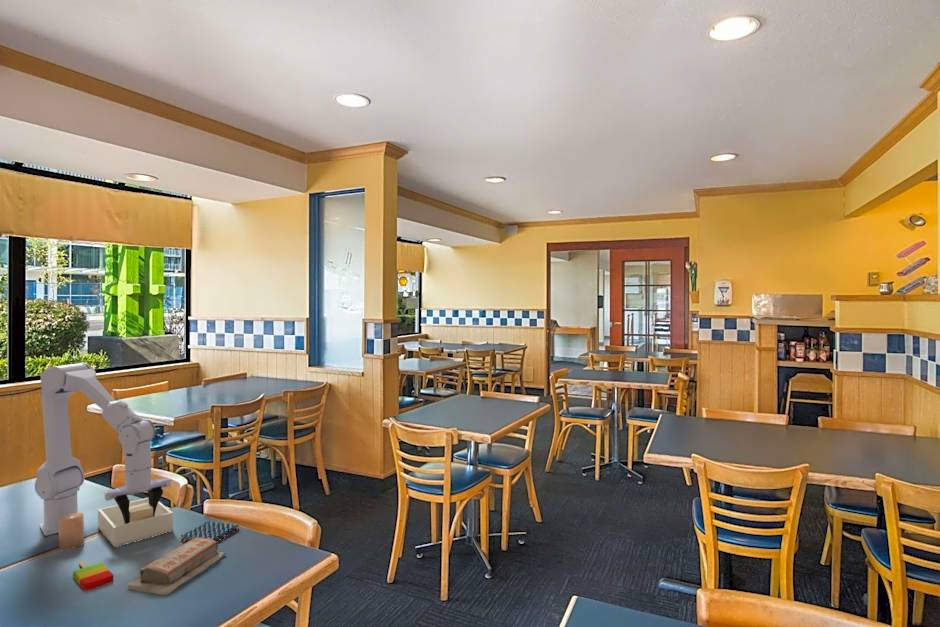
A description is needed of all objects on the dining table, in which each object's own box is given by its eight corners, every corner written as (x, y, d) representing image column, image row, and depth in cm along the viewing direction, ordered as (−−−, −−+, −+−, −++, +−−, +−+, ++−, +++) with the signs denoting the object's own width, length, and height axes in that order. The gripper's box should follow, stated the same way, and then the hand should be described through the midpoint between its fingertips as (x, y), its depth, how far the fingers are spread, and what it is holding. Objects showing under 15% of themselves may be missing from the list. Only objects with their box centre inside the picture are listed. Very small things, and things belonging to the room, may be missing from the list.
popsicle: (84, 593, 113) (84, 584, 113) (66, 570, 123) (66, 562, 123) (115, 583, 117) (115, 574, 117) (95, 562, 127) (95, 554, 127)
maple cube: (126, 526, 141) (125, 507, 140) (147, 521, 144) (147, 502, 144) (131, 532, 137) (130, 512, 137) (153, 526, 141) (152, 507, 140)
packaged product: (190, 533, 131) (225, 537, 128) (190, 553, 131) (226, 557, 128) (126, 568, 113) (165, 574, 111) (126, 591, 113) (166, 597, 111)
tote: (98, 527, 145) (97, 509, 145) (153, 513, 154) (153, 496, 154) (114, 548, 133) (113, 527, 133) (173, 531, 142) (172, 512, 142)
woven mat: (207, 527, 146) (207, 519, 146) (241, 531, 143) (241, 523, 143) (177, 543, 136) (177, 535, 136) (212, 548, 133) (212, 540, 133)
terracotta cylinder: (57, 544, 135) (56, 516, 135) (81, 538, 139) (81, 511, 138) (61, 551, 132) (60, 522, 131) (86, 544, 135) (85, 516, 135)
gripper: (108, 478, 132) (110, 533, 133) (173, 465, 143) (174, 516, 143) (102, 472, 137) (103, 525, 138) (165, 459, 148) (166, 509, 148)
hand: (139, 520), depth 141 cm, fingers closed on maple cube, 5 cm apart
